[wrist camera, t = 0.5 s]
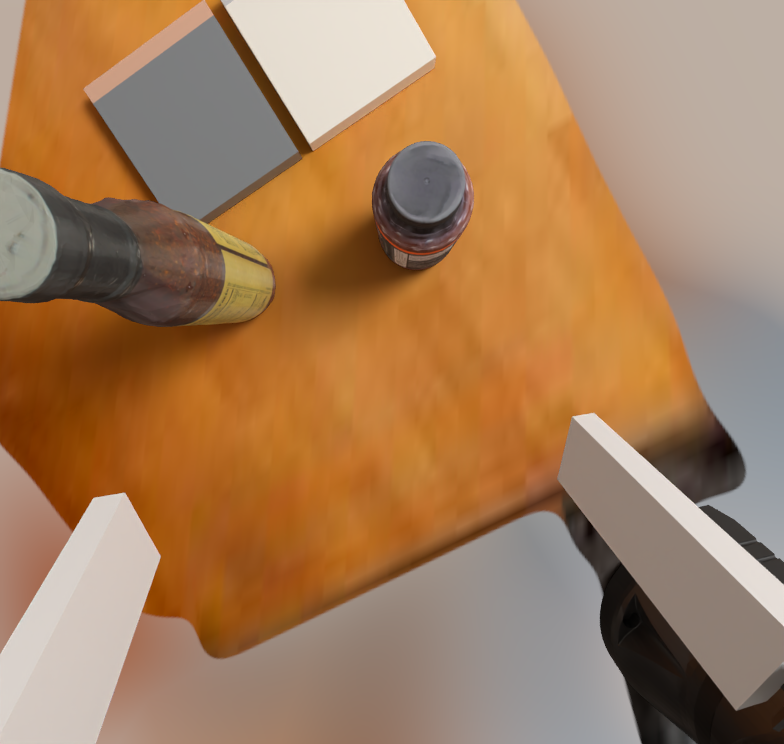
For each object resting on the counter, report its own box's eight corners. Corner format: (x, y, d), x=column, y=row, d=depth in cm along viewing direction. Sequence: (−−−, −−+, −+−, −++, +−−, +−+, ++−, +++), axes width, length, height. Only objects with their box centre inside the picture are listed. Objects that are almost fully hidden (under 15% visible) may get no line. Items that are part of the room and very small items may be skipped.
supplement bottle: (377, 194, 30) (365, 117, 19) (453, 192, 30) (487, 113, 19) (379, 272, 31) (368, 242, 20) (454, 271, 31) (485, 239, 20)
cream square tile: (434, 67, 29) (436, 56, 28) (313, 151, 30) (309, 143, 29) (346, -86, 28) (344, -105, 27) (222, 5, 29) (215, -9, 28)
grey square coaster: (302, 158, 30) (298, 151, 29) (187, 237, 31) (179, 233, 30) (212, 12, 29) (204, -1, 28) (95, 98, 30) (83, 88, 29)
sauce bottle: (191, 260, 31) (-167, 144, 11) (263, 233, 31) (23, 66, 11) (222, 337, 32) (-66, 355, 12) (293, 312, 31) (116, 287, 12)
